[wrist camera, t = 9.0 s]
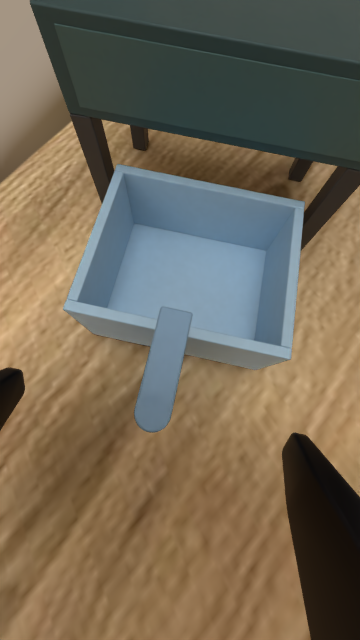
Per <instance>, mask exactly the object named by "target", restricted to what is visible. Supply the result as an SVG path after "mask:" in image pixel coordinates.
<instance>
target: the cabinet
mask: <svg viewBox="0 0 360 640" xmlns="http://www.w3.org/2000/svg"><path fill="white" fill-rule="evenodd" d="M30 5H31V7H32V10H33V13H34V16H35V18H36V21H37V24H38V26H39V30H40V32H41V35H42V38H43V41H44V43H45V47H46V49H47V52H48V55H49V58H50V60H51V63H52V66H53V69H54V72H55V74H56V77H57V80H58V83H59V86H60V88H61V91H62V94H63V97H64V99H65V102H66V105H67V108H68V111H69V112H70V116H71V119H72V122H73V125H74V128H75V130H76V133H77V136H78V139H79V141H80V144H81V147H82V150H83V153H84V155H85V158H86V161H87V164H88V167H89V169H90V172H91V175H92V178H93V180H94V183H95V186H96V189H97V192H98V194H99V197H100V200H101V203H103V201H104V198H105V195H106V193H107V190H108V187H109V185H110V182H111V179H112V177H113V174H114V168H113V164H112V160H111V156H110V152H109V148H108V144H107V140H106V136H105V132H104V128H103V124H102V120H107V121H112V122H118V123H123V124H128V125H130V128H131V134H132V141H133V148H136V149H141V150H146V148H147V145H148V142H149V140H148V129H153V130H158V131H163V132H168V133H173V134H178V135H183V136H188V137H193V138H199V139H204V140H209V141H214V142H219V143H224V144H229V145H234V146H239V147H244V148H249V149H254V150H259V151H264V152H269V153H274V154H280V155H285V156H290V157H295V160H294V162H293V164H292V166H291V168H290V171H289V179H291V180H296V181H302V179H303V177H304V176H305V174H306V172H307V171H308V169H309V167H310V166H311V164H312V162H313V161H315V162H320V163H325V164H330V165H335V166H338V167H337V168H336V170H335V171H334V172H333V174H332V175H331V176H330V178H329V179H328V181H327V182H326V183H325V185H324V186H323V187H322V189H321V190H320V192H319V193H318V194H317V196H316V197H315V198H314V200H313V201H312V203H311V204H310V205H309V207H308V208H307V209H306V211H305V212H304V217H303V228H302V239H301V250H302V249H303V248H304V247H305V245H306V244H307V243H308V242H309V241H310V240H311V239H312V238H313V237H314V235H315V234H316V233H317V232H318V231H319V230H320V229H321V228H322V226H323V225H324V224H325V223H326V222H327V221H328V220H329V219H330V218H331V216H332V215H333V214H334V213H335V212H336V211H337V210H338V209H339V208H340V206H341V205H342V204H343V203H344V202H345V201H346V200H347V199H348V197H349V196H350V195H351V194H352V193H353V192H354V191H355V190H356V189H357V187H358V186H359V185H360V0H30ZM101 119H102V120H101Z"/></svg>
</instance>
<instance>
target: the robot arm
mask: <svg viewBox="0 0 360 640" xmlns="http://www.w3.org/2000/svg"><path fill="white" fill-rule="evenodd" d="M24 391H25V384H24V378H23V372H22V371H21V370H19V369H15V368H5V369H2V370H0V430H1V429H2V427H3V426H4V424H5V422H6V421H7V419H8V418H9V416H10V415H11V413H12V412H13V410H14V408H15V407H16V405H17V404H18V402H19V401H20V399H21V398H22V396H23V394H24ZM282 460H283V472H284V483H285V495H286V505H287V512H288V518H289V523H290V529H291V534H292V539H293V545H294V550H295V556H296V561H297V566H298V572H299V577H300V583H301V588H302V593H303V599H304V604H305V610H306V615H307V620H308V626H309V631H310V637H311V640H360V497H359V496H358V495H357V493H356V492H355V491H354V490H353V489H352V488H351V486H350V485H349V484H348V483H347V482H346V481H345V479H344V478H343V477H342V476H341V475H340V474H339V472H338V471H337V470H336V469H335V468H334V467H333V465H332V464H331V463H330V462H329V461H328V460H327V458H326V457H325V456H324V455H323V454H322V453H321V451H320V450H319V449H318V448H317V447H316V446H315V444H314V443H313V442H312V441H311V440H310V438H309V437H308V436H306V435H303V434H299V433H292V434H291V436H290V437H289V439H288V441H287V442H286V444H285V446H284V448H283V451H282Z"/></svg>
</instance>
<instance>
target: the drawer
mask: <svg viewBox="0 0 360 640" xmlns="http://www.w3.org/2000/svg"><path fill="white" fill-rule="evenodd" d="M304 206H305V202H303V201H298V200H293V199H288V198H284V197H279V196H274V195H269V194H264V193H259V192H254V191H249V190H244V189H239V188H234V187H229V186H224V185H219V184H214V183H209V182H204V181H199V180H195V179H190V178H185V177H180V176H175V175H170V174H165V173H160V172H155V171H150V170H145V169H140V168H135V167H130V166H125V165H120V164H117V166H116V169H115V172H114V174H113V177H112V179H111V182H110V185H109V187H108V190H107V193H106V195H105V198H104V201H103V203H102V206H101V209H100V211H99V214H98V217H97V219H96V222H95V225H94V227H93V230H92V233H91V235H90V238H89V241H88V243H87V246H86V249H85V251H84V254H83V257H82V259H81V262H80V265H79V267H78V270H77V273H76V275H75V278H74V281H73V283H72V286H71V289H70V291H69V294H68V297H67V299H68V300H66V302H65V305H64V307H63V310H64V311H66V312H67V313H68V314H69V315H71V316H72V317H73V318H74V319H76V320H77V321H78V322H79V323H81V324H82V325H83V326H84V327H86V328H87V329H88V330H89V331H91V332H92V333H93V334H96V335H100V336H105V337H109V338H114V339H118V340H123V341H127V342H132V343H136V344H141V345H145V346H150V351H149V355H148V359H147V362H146V366H145V370H144V374H143V378H142V382H141V386H140V390H139V394H138V398H137V402H136V406H135V410H134V417H135V421H136V423H137V425H138V426H139V427H140V428H141V429H142V430H144V431H146V432H152V433H153V432H158V431H161V430H162V429H164V428H165V427H166V426H167V424H168V423H169V421H170V419H171V414H172V410H173V405H174V401H175V396H176V391H177V386H178V382H179V377H180V372H181V368H182V363H183V358H184V354H186V355H190V356H195V357H199V358H204V359H208V360H213V361H217V362H222V363H226V364H231V365H235V366H240V367H244V368H249V369H253V370H258V369H261V368H264V367H268V366H271V365H274V364H277V363H281V362H284V361H287V360H290V359H291V352H292V349H291V348H292V341H293V330H294V318H295V307H296V296H297V285H298V273H299V262H300V251H301V239H302V228H303V217H304Z"/></svg>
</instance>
